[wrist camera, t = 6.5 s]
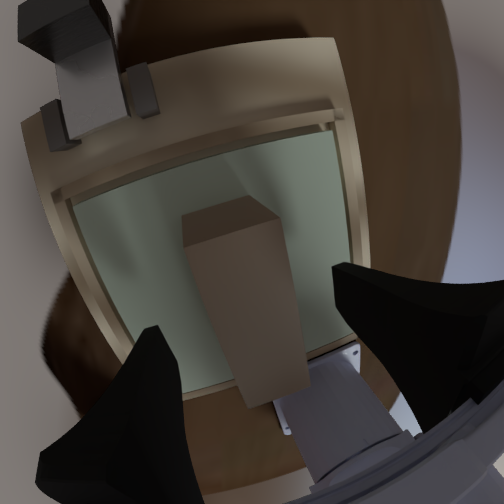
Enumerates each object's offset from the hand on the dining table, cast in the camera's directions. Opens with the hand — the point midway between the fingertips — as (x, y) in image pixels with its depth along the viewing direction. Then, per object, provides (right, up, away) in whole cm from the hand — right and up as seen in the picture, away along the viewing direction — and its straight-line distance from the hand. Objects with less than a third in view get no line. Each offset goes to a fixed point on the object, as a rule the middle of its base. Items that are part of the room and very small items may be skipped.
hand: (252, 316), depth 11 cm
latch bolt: (-6, +10, -3) cm, 12 cm away
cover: (-1, +1, +4) cm, 4 cm away
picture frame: (-2, +4, +5) cm, 6 cm away
